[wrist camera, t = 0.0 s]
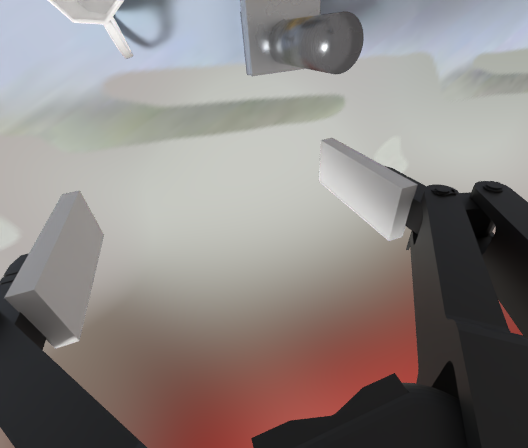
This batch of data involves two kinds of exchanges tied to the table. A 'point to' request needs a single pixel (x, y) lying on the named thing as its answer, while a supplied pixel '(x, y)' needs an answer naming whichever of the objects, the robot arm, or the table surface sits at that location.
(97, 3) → the cup
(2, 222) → the table surface
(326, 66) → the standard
